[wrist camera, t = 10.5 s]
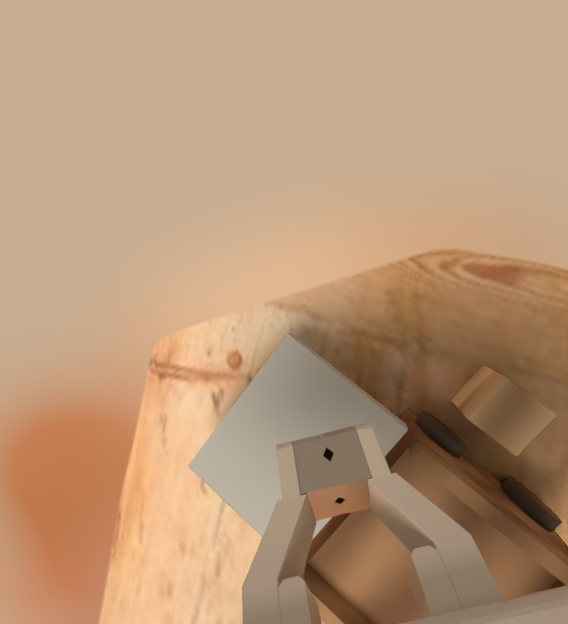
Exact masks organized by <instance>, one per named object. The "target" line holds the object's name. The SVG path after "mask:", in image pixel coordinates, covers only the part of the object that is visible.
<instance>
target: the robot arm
mask: <svg viewBox="0 0 568 624" xmlns="http://www.w3.org/2000/svg"><path fill="white" fill-rule="evenodd" d="M276 452H277V460H278V469H279V477H280V485H281V493H282V500H278V501H277V504H276V506H275V508H274V511H273V513H272V516H271V518H270V521H269V523H268V525H267V528H266V530H265V533H264V535H263V538H262V540H261V542H260V545H259V547H258V550H257V552H256V555H255V557H254V559H253V562H252V564H251V567H250V569H249V572H248V574H247V577H246V579H245V581H244V584H243V586H242V599H243V624H321V619H320V613H319V608H318V605H317V603H316V601H315V599H314V597H313V595H312V594H311V592H310V590H309V588H308V586H307V584H306V582H305V581H304V580H303V579H302V575H303V571H304V567H305V564H306V560H307V556H308V553H309V549H310V545H311V542H312V538H313V534H314V531H315V527H316V524H317V523H316V521H318V520H322V519H326V518H330V517H333V516H337V515H341V514H345V513H350V512H355V511H360V510H365V509H369V508H371V511H372V512H373V513H374V514H375V515H376V516H377V517H378V518H379V519H380V520H381V521H382V522H383V523H384V524H385V525H386V527H387V528H388V529H389V530H390V531H391V532H392V533H393V534H394V535H395V536H396V537H397V538H398V539H399V540H400V541H401V542H402V544H403V545H404V546H405V547H406V548H407V549H408V550H409V551H410V552H411V553H412V555H411V566H410V579H409V586H410V589H411V592H412V595H413V598H414V601H415V604H416V607H417V610H418V613H419V616H420V619H418V620H414V621H409V622H405V623H401V624H568V585H566V586H562V587H557V588H553V589H549V590H544V591H540V592H536V593H531V594H527V595H523V596H518V597H514V598H509V599H505V600H504V598H503V596H502V594H501V592H500V590H499V588H498V587H497V585H496V583H495V581H494V579H493V577H492V575H491V573H490V571H489V569H488V567H487V565H486V563H485V561H484V559H483V557H482V555H481V553H480V551H479V549H478V547H477V545H476V544H475V542H474V540H473V538H472V536H471V534H470V533H468V532H467V531H466V530H465V529H464V528H462V527H461V526H460V525H459V524H458V523H456V522H455V521H454V520H453V519H452V518H450V517H449V516H448V515H447V514H446V513H444V512H443V511H442V510H441V509H439V508H438V507H437V506H436V505H435V504H433V503H432V502H431V501H430V500H429V499H427V498H426V497H425V496H424V495H423V494H421V493H420V492H419V491H418V490H417V489H415V488H414V487H413V486H412V485H410V484H409V483H408V482H407V481H406V480H404V479H403V478H402V477H401V476H400V475H398V474H397V473H392V474H391V472H390V469H389V467H388V464H387V462H386V459H385V456H384V454H383V451H382V449H381V446H380V444H379V441H378V439H377V436H376V434H375V431H374V429H373V426H372V425H371V424H370V422H367V423H363V424H359V425H355V426H350V427H346V428H342V429H338V430H335V431H331V432H327V433H323V434H320V435H315V436H311V437H307V438H303V439H299V440H295V441H289V442H285V443H281V444H277V446H276Z"/></svg>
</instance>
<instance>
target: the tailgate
mask: <svg viewBox="0 0 568 624" xmlns="http://www.w3.org/2000/svg"><path fill="white" fill-rule="evenodd" d="M367 422H370V424H371V425H372V426H373V429H374V431H375V434H376V436H377V439H378V441H379V444H380V446H381V449H382V451H383V454H384V456H386V455H387V453H388V452H389V451H390V450H391V449H392V448H393V447H394V445H395V444H396V443H397V442H398V441H399V440H400V439H401V437H402V436H403V435H404V434H405V433H406V432H407V431H408V428H407V425H406V423H404V422H403V421H402V420H401V419H399V418H398V417H397V416H395V415H394V414H393V413H392V412H390V411H389V410H388V409H387V408H385V407H384V406H383V405H382V404H380V403H379V402H378V401H377V400H375V399H374V398H373V397H372V396H370V395H369V394H368V393H367V392H365V391H364V390H363V389H361V388H360V387H359V386H358V385H356V384H355V383H354V382H353V381H351V380H350V379H349V378H348V377H346V376H345V375H344V374H343V373H341V372H340V371H339V370H338V369H336V368H335V367H334V366H333V365H331V364H330V363H329V362H327V361H326V360H325V359H324V358H322V357H321V356H320V355H319V354H317V353H316V352H315V351H314V350H312V349H311V348H310V347H309V346H307V345H306V344H305V343H304V342H302V341H301V340H300V339H298V338H297V337H296V336H295V335H293V334H292V333H291V332H290V333H287V334H286V336H285V337H284V338H283V340H282V341H281V342H280V344H279V345H278V346H277V348H276V349H275V350H274V352H273V353H272V354H271V356H270V357H269V358H268V360H267V361H266V362H265V364H264V365H263V366H262V368H261V369H260V370H259V372H258V373H257V374H256V376H255V377H254V378H253V380H252V381H251V382H250V384H249V385H248V386H247V388H246V389H245V390H244V392H243V393H242V394H241V396H240V397H239V398H238V400H237V401H236V402H235V404H234V405H233V406H232V408H231V409H230V410H229V412H228V413H227V414H226V416H225V417H224V418H223V420H222V421H221V422H220V424H219V425H218V426H217V428H216V429H215V430H214V432H213V433H212V434H211V436H210V437H209V438H208V440H207V441H206V442H205V444H204V445H203V446H202V448H201V449H200V450H199V452H198V453H197V454H196V456H195V457H194V458H193V460H192V461H191V462H190V464H189V465H188V467H189V468H190V469H191V470H192V471H193V472H194V473H196V474H197V475H198V476H199V477H200V478H201V479H202V480H203V481H204V482H205V483H206V484H207V485H208V486H209V487H210V488H211V489H212V490H213V491H215V492H216V493H217V494H218V495H219V496H220V497H221V498H222V499H223V500H224V501H225V502H226V503H227V504H228V505H229V506H230V507H231V508H232V509H234V510H235V511H236V512H237V513H238V514H239V515H240V516H241V517H242V518H243V519H244V520H245V521H246V522H247V523H248V524H249V525H250V526H251V527H252V528H254V529H255V530H256V531H257V532H258V533H259V534H260V535H261V536H262V537H263V535H264V533H265V530H266V528H267V525H268V523H269V521H270V518H271V516H272V513H273V511H274V508H275V506H276V504H277V501H278V500H282V493H281V485H280V477H279V469H278V460H277V452H276V446H277V444H281V443H285V442H289V441H295V440H299V439H303V438H307V437H311V436H315V435H320V434H323V433H327V432H331V431H335V430H338V429H342V428H346V427H350V426H355V425H359V424H363V423H367ZM331 518H332V517H330V518H326V519H322V520H318V521H316V523H317V524H316V527H315V531H314V534H313V538H312V540H313V539H314V537H315V536H316V535H317V534H318V533H319V532H320V530H321V529H322V528H323V527H324V526H325V525H326V524H327V522H328V521H329V520H330V519H331Z"/></svg>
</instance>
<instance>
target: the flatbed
mask: <svg viewBox="0 0 568 624" xmlns="http://www.w3.org/2000/svg"><path fill="white" fill-rule="evenodd" d="M400 419H401V420H402V421H403V422H404V423H406V425H407V428H408V431H407V432H406V433H405V434H404V435H403V436H402V437H401V439H400V440H399V441H398V442H397V443H396V444H395V445H394V447H393V448H392V449H391V450H390V451H389V452H388V453H387V455H386V456H385V459H386V462H387V464H388V467H389V469H390V472H391V474H392V473H397V474H398V475H400V476H401V477H402V478H403V479H404V480H406V481H407V482H408V483H409V484H410V485H412V486H413V487H414V488H415V489H417V490H418V491H419V492H420V493H421V494H423V495H424V496H425V497H426V498H427V499H429V500H430V501H431V502H432V503H433V504H435V505H436V506H437V507H438V508H439V509H441V510H442V511H443V512H444V513H446V514H447V515H448V516H449V517H450V518H452V519H453V520H454V521H455V522H456V523H458V524H459V525H460V526H461V527H462V528H464V529H465V530H466V531H467V532H468V533H470V534H471V536H472V538H473V540H474V542H475V544H476V545H477V547H478V549H479V551H480V553H481V555H482V557H483V559H484V561H485V563H486V565H487V567H488V569H489V571H490V573H491V575H492V577H493V579H494V581H495V583H496V585H497V587H498V588H499V590H500V592H501V594H502V596H503V598H504V600H505V599H509V598H514V597H518V596H523V595H527V594H531V593H536V592H540V591H544V590H549V589H553V588H557V587H562V586H566V585H568V546H567V545H566V544H565V542H564V541H563V540H562V539H561V538H560V536H559V535H558V534H557V533H556V532H555V529H556V528H557V527H558V526H559V525H560V524H561V523H562V522H561V520H560V519H559V518H558V517H557V516H556V514H555V513H554V512H553V511H552V510H551V509H550V508H549V507H547V506H546V505H545V504H544V503H543V502H542V501H541V500H540V499H539V498H538V497H536V496H535V495H534V494H533V493H532V492H531V491H529V490H528V489H527V488H526V487H524V486H523V485H522V484H520V483H519V482H518V481H516V480H515V479H513V478H512V477H510V476H509V477H508V478H507V479H506V480H505V481H504V482H503V483H502V484H501V483H500V482H499V481H497V480H496V479H495V478H494V477H492V476H491V475H490V474H488V473H487V472H486V471H485V470H483V469H482V468H481V467H480V466H478V465H477V464H476V463H474V462H473V461H472V460H471V459H469V458H468V457H467V456H465V455H464V454H463V452H464V451H465V450H466V449H467V446H466V445H465V443H464V442H463V441H462V440H461V439H460V438H459V437H458V436H457V435H456V434H455V433H454V432H452V431H451V430H450V429H449V428H448V427H447V426H446V425H444V424H443V423H442V422H441V421H439V420H438V419H437V418H435V417H434V416H432V415H431V414H429V413H428V412H425V411H424V412H423V413H422V414H421V415H420V416H419V417H418V418H417V417H416V416H414V415H413V414H412V413H411V412H409V411H408V410H407V411H406V412H405V413H404V414H403V415H402V417H401V418H400ZM411 555H412V553H411V552H410V551H409V550H408V549H407V548H406V547H405V546H404V545H403V544H402V542H401V541H400V540H399V539H398V538H397V537H396V536H395V535H394V534H393V533H392V532H391V531H390V530H389V529H388V528H387V527H386V525H385V524H384V523H383V522H382V521H381V520H380V519H379V518H378V517H377V516H376V515H375V514H374V513H373V512H372V511H371V508H369V509H365V510H360V511H355V512H350V513H345V514H341V515H337V516H333V517H332V518H331V519H330V520H329V521H328V522H327V524H326V525H325V526H324V527H323V528H322V529H321V530H320V532H319V533H318V534H317V535H316V536H315V537H314V539H313V540H312V542H311V545H310V549H309V553H308V556H307V560H306V564H305V567H304V571H303V575H302V579H303V580H304V581H305V582H306V584H307V586H308V588H309V590H310V592H311V594H312V595H313V597H314V599H315V601H316V603H317V605H318V608H319V613H320V619H321V620H322V621H323V622H324V623H325V624H401V623H405V622H409V621H414V620H418V619H420V616H419V613H418V610H417V607H416V604H415V601H414V598H413V595H412V592H411V589H410V586H409V579H410V566H411Z"/></svg>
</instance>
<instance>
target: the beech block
mask: <svg viewBox="0 0 568 624" xmlns="http://www.w3.org/2000/svg"><path fill="white" fill-rule="evenodd" d="M451 401H452V402H453V403H454V404H455V406H456V407H457V408H458V409H459V410H460V411H461V413H462V414H463V415H464V416H465V417H466V418H467V419H468V420H469V421H470V422H472V423H473V424H474V425H476V426H477V427H478V428H479V429H481V430H482V431H483V432H485V433H486V434H487V435H489V436H490V437H491V438H493V439H494V440H495V441H497V442H498V443H499V444H500V445H502V446H503V447H504V448H506V449H507V450H508V451H510V452H511V453H512V454H514V455H515V456H516V457H517V456H518V455H519V454H520V453H521V452H522V451H523V450H524V449H525V448H526V447H527V446H528V445H529V443H530V442H531V441H532V440H533V439H534V438H535V437H536V436H537V435H538V434H539V433H540V432H541V431H542V430H543V429H544V428H545V427H546V426H547V425H548V424H549V423H550V422H551V420H552V419H553V418H554V417H555V416H556V415H557V414H556V413H555V412H554V411H552V410H551V409H549V408H548V407H547V406H545V405H544V404H542V403H541V402H540V401H538V400H537V399H536V398H534V397H533V396H531V395H530V394H529V393H527V392H526V391H524V390H523V389H522V388H520V387H519V386H518V385H516V384H515V383H513V382H512V381H511V380H509V379H508V378H506V377H505V376H503V375H501V374H499V373H497V372H495V371H494V370H492V369H490V368H488V367H486V366H484V365H482V366H481V367H480V368H479V369H478V370H477V371H476V373H475V374H474V375H473V376H472V377H471V378H470V379H469V381H468V382H467V383H466V384H465V385H464V386H463V387H462V388H461V390H460V391H459V392H458V393H457V394H456V395H455V396H454V398H453V399H452V400H451Z"/></svg>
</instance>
